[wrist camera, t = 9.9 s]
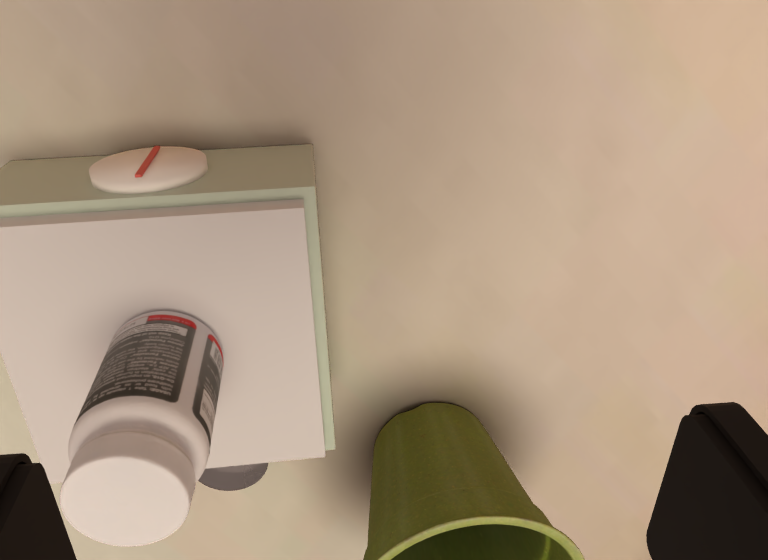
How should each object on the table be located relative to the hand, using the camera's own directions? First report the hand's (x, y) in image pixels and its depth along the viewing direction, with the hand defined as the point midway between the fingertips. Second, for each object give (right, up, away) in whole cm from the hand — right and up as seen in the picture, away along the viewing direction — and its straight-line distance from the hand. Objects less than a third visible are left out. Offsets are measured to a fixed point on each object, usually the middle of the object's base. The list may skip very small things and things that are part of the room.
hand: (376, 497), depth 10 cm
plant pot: (+3, -7, +32) cm, 33 cm away
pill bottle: (-9, 0, +18) cm, 21 cm away
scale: (-10, +3, +24) cm, 27 cm away
